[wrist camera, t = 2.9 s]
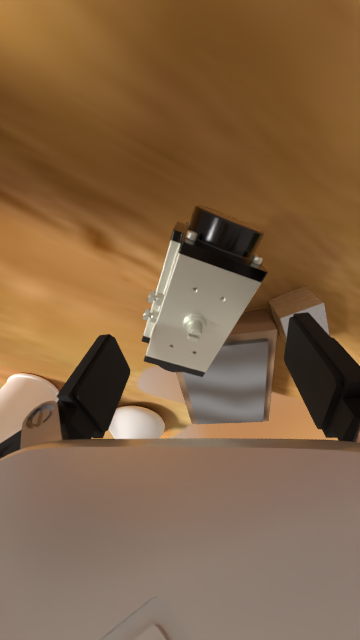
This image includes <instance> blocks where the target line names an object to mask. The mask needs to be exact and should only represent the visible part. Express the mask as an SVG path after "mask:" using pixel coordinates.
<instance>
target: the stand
mask: <svg viewBox="0 0 360 640" xmlns="http://www.w3.org/2000/svg"><path fill="white" fill-rule="evenodd" d="M277 330H278V329H277V328H276V326H275V324H274V323H273V321H272V319H271V317H270V316H269V314H268V312H267V311H266V310H259V311H252V312H244V313H242V315H241V316H240V318H239V320H238V321H237V323H236V324H235V326H234V328H233V329H232V331H231V333H230V334H229V336H228V337H227V339H226V341H225V342H224V344H223V345H222V347H221V349H220V350H219V352H218V353H217V355H216V357H215V358H214V360H213V361H212V363H211V365H210V366H209V368H208V369H207V371H206V373H205V374H204V376H203V377H199V376H196V375H192V374H189V373H185V372H176V374H177V377H178V381H179V384H180V387H181V390H182V393H183V396H184V400H185V403H186V406H187V409H188V412H189V416H190V419H191V422H192V424H215V423H242V422H263V421H268V420H269V410H270V401H271V391H272V381H273V371H274V360H275V350H276V340H277Z"/></svg>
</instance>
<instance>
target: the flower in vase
mask: <svg viewBox="0 0 360 640" xmlns="http://www.w3.org/2000/svg"><path fill="white" fill-rule="evenodd" d="M109 430H110V432H111V433H112V435H113V436H114V438H115V439H158V438H159V437H160V436H161V435H162V434H163V432H164V430H165V424H164V421H163V419H162V418H161V417H160V416H159V415H158V414H157V413H155V412H154V411H152V410H149V409H147V408H143V407H139V406H123V407H119V408H117V409H116V411H115V414H114V416H113V419H112V421H111V424H110V427H109Z"/></svg>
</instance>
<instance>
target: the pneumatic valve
mask: <svg viewBox="0 0 360 640" xmlns="http://www.w3.org/2000/svg"><path fill="white" fill-rule="evenodd" d="M264 234H265V233H264V232H263V231H262V230H260V229H258V228H256V227H254V226H252V225H250V224H248V223H245V222H243V221H241V220H238V219H236V218H234V217H231V216H229V215H226V214H224V213H221V212H219V211H216V210H213V209H210V208H207V207H204V206H201V205H196V206H195V208H194V211H193V214H192V217H191V220H190V221H189V223H186V224H183V223H180V222H177V223H176V225H175V227H174V229H173V233H172V236H171V240H170V243H169V247H168V250H167V254H166V257H165V261H164V264H163V268H162V271H161V275H160V278H159V282H158V285H157V289H156V292H155V291H152V290H151V291H150V294H149V297H148V301H147V302H149V303H152V307H151V309H148V308H146V310H145V313H144V316H143V319H144V320H148V321H147V324H146V328H145V331H144V335H143V338H142V341H143V342H146V343H148V348H147V351H146V354H145V358H144V361H145V362H148V363H152V364H156V365H158V366H160V367H161V368H163V369H165V370H168V371H171V372H185V373H189V374H192V375H196V376H199V377H203V376H204V374H205V373H206V371H207V369H208V368H209V366H210V365H211V363H212V361H213V360H214V358H215V357H216V355H217V353H218V352H219V350H220V349H221V347H222V345H223V344H224V342H225V341H226V339H227V337H228V336H229V334H230V333H231V331H232V329H233V328H234V326H235V324H236V323H237V321H238V320H239V318H240V316H241V315H242V313H243V312H244V310H245V308H246V307H247V305H248V304H249V302H250V300H251V299H252V297H253V296H254V294H255V292H256V291H257V289H258V288H259V286H260V284H261V283H262V281H263V280H264V278H265V276H266V275H267V273H268V271H267V270H266V269H265V268H264V267H263V266H262V265H261V262H262V261H263V258H262V257H260V256H257V255H254V253H255V251H256V249H257V247H258V246H259V244H260V242H261V240H262V238H263V236H264Z"/></svg>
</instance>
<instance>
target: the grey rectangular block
mask: <svg viewBox="0 0 360 640" xmlns="http://www.w3.org/2000/svg"><path fill="white" fill-rule="evenodd" d="M268 301H269V304H270V307H271V310H272V313H273V316H274V319H275V322H276V325H277V328H278V331H279V334H280V336H281V338H282V340H283V342H284V343H285V345H286V339H287V331H288V324H289V318H290V317H293V315H294V314H296V313H305V312H308V313H310V315H311V316H312V317H313V318H314V319H315V320H316V321H317V322H318V324H319V325H320V326H321V327H322V328H323V329H324V330H325V331H326V333H327V334H328V335H329V329H328V323H327V317H326V311H325V305H324V302H323V301H322V300H320V299H319V298H318V297H317V296H316V295H315V294H314V293H312V292H311V291H310V290H309V289H308V288H307V287H306V286H303V287H300V288H298V289H295V290H293V291H290V292H288V293H285V294H283V295H280V296H277V297H275V298H272V299H270V300H268ZM329 336H330V335H329Z"/></svg>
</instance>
